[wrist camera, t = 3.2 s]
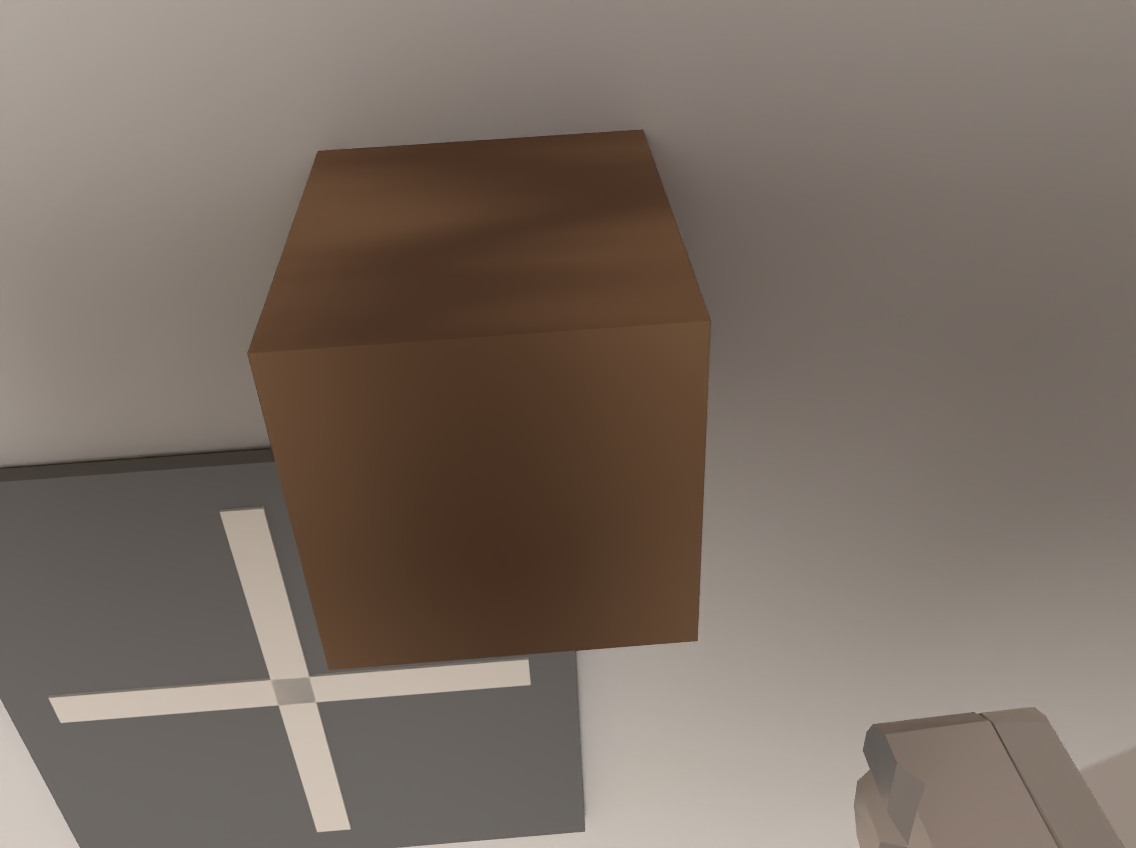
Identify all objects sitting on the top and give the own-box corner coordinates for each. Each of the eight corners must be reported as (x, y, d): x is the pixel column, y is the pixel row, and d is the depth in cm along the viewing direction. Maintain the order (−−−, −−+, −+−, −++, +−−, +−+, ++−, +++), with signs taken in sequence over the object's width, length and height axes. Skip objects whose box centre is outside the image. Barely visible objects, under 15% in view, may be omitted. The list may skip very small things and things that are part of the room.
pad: (562, 427, 19) (564, 442, 19) (584, 817, 26) (585, 834, 26) (-101, 476, 19) (-113, 492, 19) (98, 858, 26) (93, 876, 26)
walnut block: (642, 128, 16) (709, 320, 11) (642, 396, 19) (697, 640, 14) (318, 149, 16) (247, 354, 11) (367, 416, 19) (328, 670, 14)
